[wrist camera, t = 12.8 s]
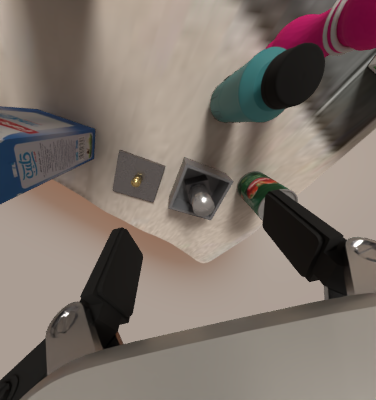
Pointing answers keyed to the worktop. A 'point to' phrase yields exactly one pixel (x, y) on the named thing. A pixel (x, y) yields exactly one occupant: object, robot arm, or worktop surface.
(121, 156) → the stud plate
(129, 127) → the worktop surface
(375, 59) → the skincare box
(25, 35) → the worktop surface
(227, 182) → the bin
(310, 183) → the worktop surface
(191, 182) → the silver rounded piece
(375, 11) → the pepper mill
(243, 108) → the beverage bottle
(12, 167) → the milk carton
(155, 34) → the worktop surface
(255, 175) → the canned tomato
